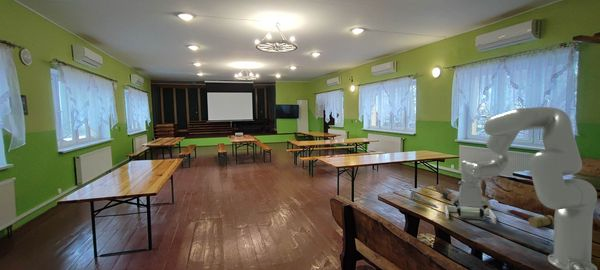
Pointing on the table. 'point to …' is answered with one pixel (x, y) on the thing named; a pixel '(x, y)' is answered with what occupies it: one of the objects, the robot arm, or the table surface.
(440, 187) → the antique flintlock pistol
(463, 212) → the pale green block
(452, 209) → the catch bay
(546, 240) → the table surface
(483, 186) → the hand bell
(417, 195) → the caliper
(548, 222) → the gavel
